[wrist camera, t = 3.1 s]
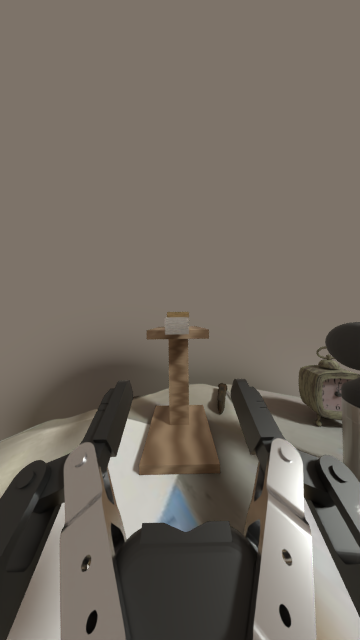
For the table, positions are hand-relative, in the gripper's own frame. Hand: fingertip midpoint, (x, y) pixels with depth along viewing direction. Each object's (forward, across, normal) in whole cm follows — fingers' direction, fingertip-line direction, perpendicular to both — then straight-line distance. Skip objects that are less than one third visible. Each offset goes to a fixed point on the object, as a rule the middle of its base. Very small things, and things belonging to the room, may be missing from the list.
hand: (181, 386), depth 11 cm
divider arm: (+24, 0, +10) cm, 26 cm away
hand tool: (+28, -18, +49) cm, 59 cm away
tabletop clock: (+16, -50, +43) cm, 68 cm away
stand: (+13, 0, +41) cm, 43 cm away
